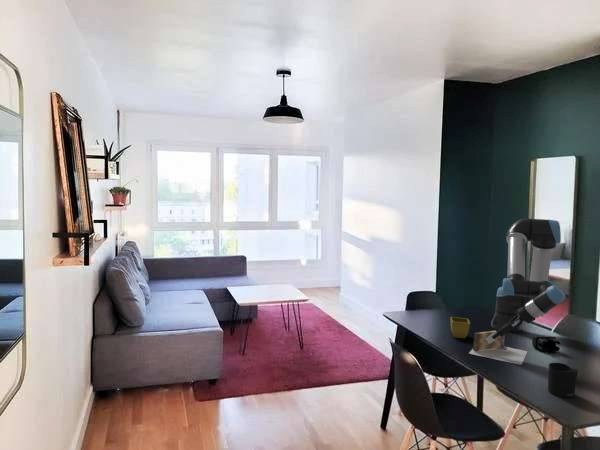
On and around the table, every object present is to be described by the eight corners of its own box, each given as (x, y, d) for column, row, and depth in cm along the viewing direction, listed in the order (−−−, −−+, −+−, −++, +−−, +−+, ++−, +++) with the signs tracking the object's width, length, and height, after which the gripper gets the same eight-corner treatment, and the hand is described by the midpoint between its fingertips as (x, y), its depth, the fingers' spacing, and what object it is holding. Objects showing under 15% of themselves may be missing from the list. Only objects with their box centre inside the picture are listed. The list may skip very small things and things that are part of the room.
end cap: (550, 348, 228) (551, 335, 227) (560, 353, 221) (561, 339, 220) (531, 348, 227) (532, 334, 226) (540, 353, 220) (541, 339, 219)
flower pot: (469, 340, 234) (470, 323, 233) (450, 338, 236) (452, 321, 235) (466, 335, 243) (467, 318, 242) (449, 333, 244) (450, 316, 244)
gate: (501, 345, 225) (502, 327, 225) (504, 347, 223) (506, 329, 223) (472, 350, 217) (474, 331, 216) (476, 351, 215) (477, 332, 215)
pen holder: (548, 395, 172) (550, 369, 172) (545, 386, 181) (547, 360, 180) (577, 400, 169) (580, 373, 168) (572, 390, 178) (575, 365, 177)
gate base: (478, 342, 232) (478, 340, 232) (527, 352, 221) (527, 350, 221) (468, 354, 214) (468, 352, 214) (521, 365, 202) (521, 364, 202)
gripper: (535, 321, 200) (490, 351, 209) (537, 315, 211) (495, 344, 221) (522, 307, 202) (479, 337, 212) (525, 302, 213) (484, 331, 223)
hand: (487, 341), depth 216 cm, fingers closed
